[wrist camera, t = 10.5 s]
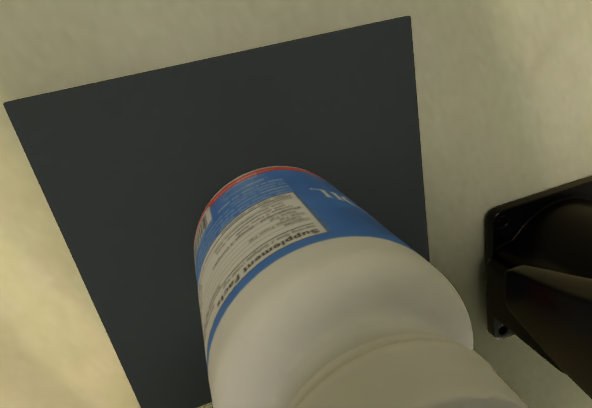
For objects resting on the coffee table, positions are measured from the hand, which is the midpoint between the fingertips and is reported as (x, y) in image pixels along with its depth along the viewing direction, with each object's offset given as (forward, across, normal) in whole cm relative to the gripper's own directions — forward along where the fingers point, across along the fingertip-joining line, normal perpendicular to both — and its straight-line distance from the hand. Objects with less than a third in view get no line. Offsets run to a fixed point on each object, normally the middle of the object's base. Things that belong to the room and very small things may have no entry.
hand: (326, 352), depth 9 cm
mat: (+6, 0, 0) cm, 7 cm away
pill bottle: (+6, 0, 0) cm, 6 cm away
